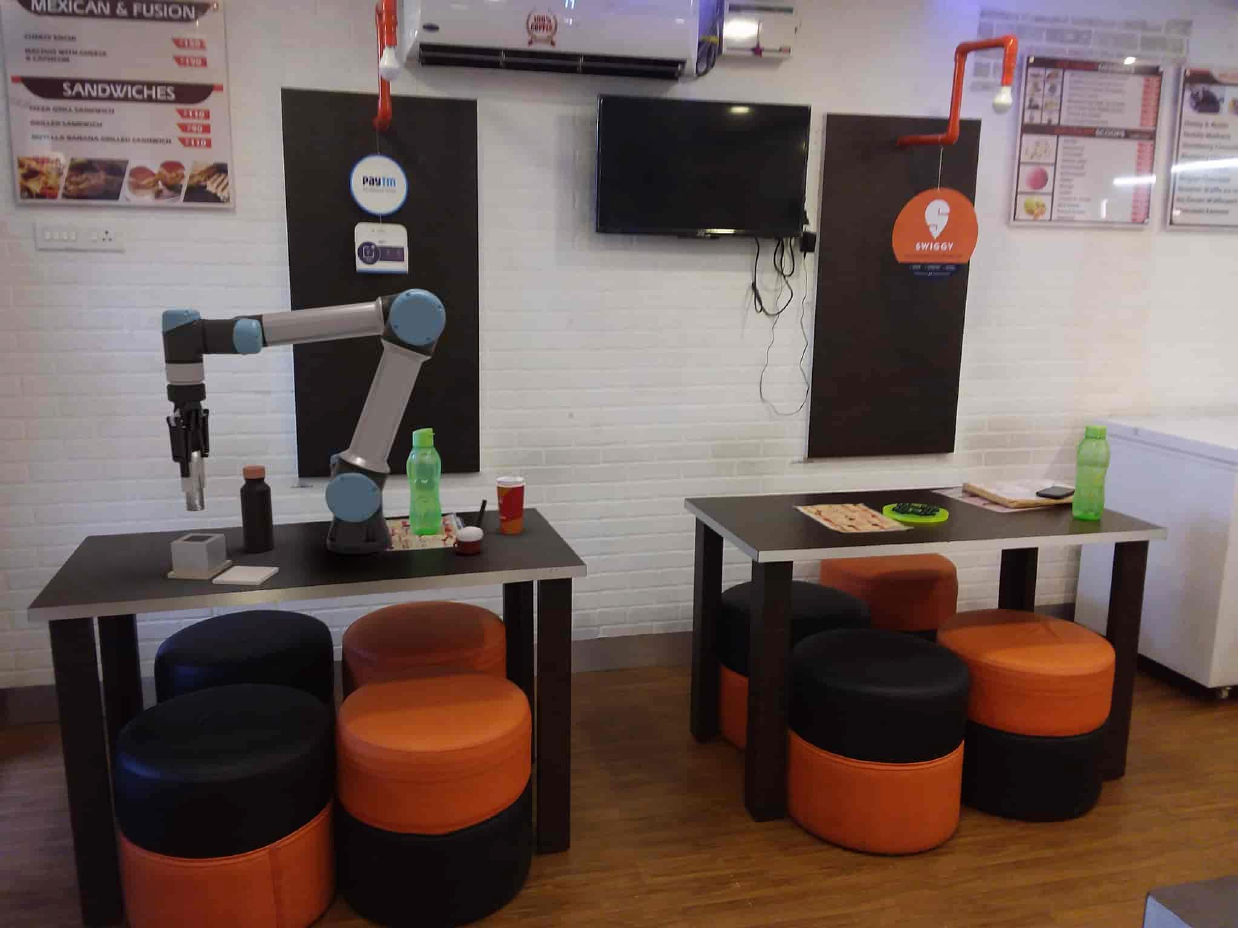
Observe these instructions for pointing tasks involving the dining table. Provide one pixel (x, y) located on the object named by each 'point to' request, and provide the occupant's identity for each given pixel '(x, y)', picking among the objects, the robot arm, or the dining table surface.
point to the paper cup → (510, 504)
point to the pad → (245, 575)
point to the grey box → (198, 556)
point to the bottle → (256, 511)
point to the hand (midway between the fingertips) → (194, 489)
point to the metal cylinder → (196, 485)
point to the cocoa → (471, 535)
